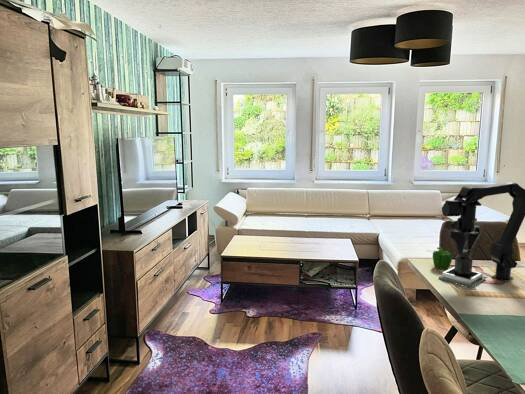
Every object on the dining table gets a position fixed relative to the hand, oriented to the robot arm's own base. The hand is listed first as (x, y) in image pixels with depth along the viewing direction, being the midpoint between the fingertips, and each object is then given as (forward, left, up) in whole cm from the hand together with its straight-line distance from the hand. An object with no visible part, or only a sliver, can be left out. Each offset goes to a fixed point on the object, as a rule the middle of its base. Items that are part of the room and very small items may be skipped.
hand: (464, 251), depth 173 cm
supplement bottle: (0, 0, -12) cm, 12 cm away
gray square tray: (0, 0, -13) cm, 13 cm away
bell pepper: (-8, -13, -13) cm, 20 cm away
